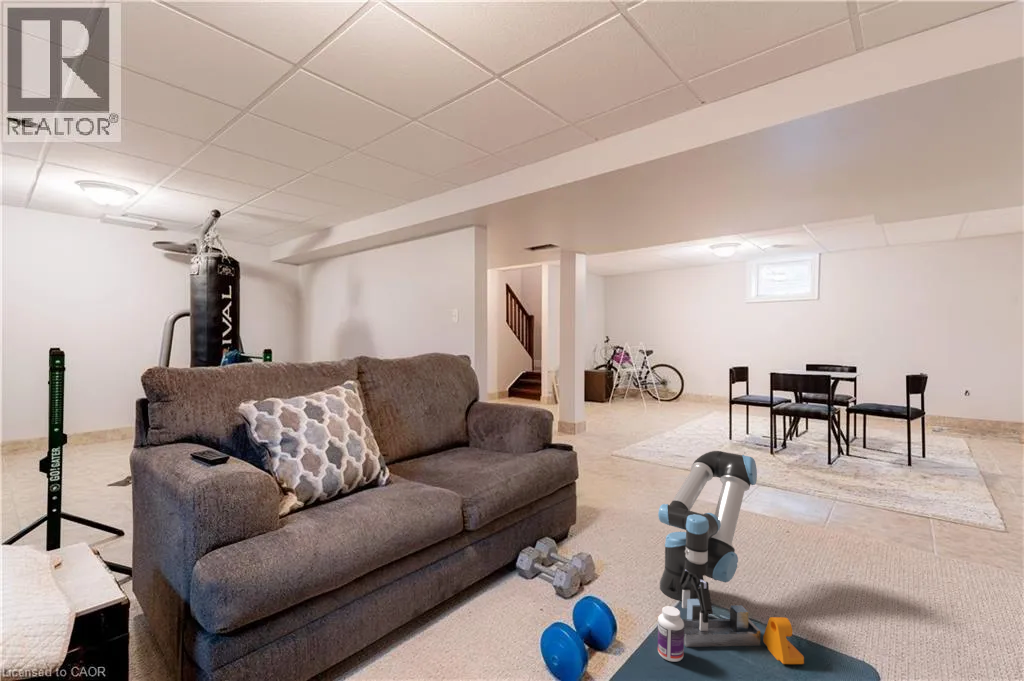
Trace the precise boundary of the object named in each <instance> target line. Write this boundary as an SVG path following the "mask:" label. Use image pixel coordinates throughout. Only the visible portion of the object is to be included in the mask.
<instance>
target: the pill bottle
mask: <svg viewBox="0 0 1024 681" xmlns="http://www.w3.org/2000/svg"><path fill="white" fill-rule="evenodd" d="M682 619H683V618H682V617H681V611H680V610H679V609H678V608H677V607H675V606H671V605H666V606H663V607H662V609H661V613H660V614H659V615H658V617H657V653H658V654H659V655H660V657H661V658H662V659H664V660H666V661H669V662H680V661H681V660H683V658H684V655H685V654H684V650H685V648H684V647H685V645H684V622H683V620H682Z"/></svg>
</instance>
